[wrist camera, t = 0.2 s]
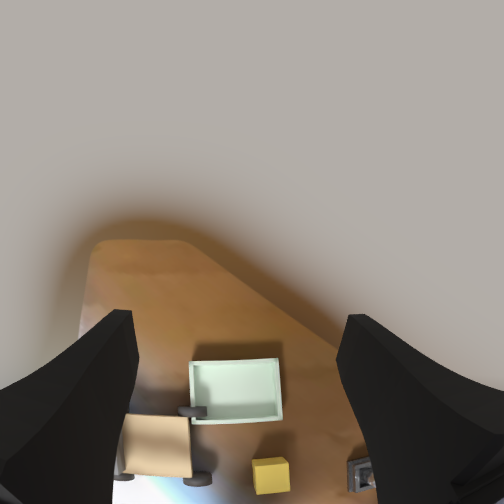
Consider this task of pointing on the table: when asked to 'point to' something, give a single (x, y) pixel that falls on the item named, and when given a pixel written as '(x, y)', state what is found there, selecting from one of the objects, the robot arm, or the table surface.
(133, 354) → the robot arm
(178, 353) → the table surface
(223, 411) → the tray
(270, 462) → the yellow cube
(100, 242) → the table surface
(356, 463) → the pin socket
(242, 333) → the table surface
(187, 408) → the trolley
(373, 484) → the pin
